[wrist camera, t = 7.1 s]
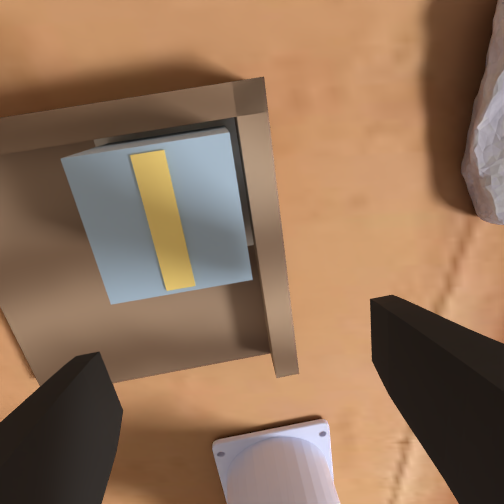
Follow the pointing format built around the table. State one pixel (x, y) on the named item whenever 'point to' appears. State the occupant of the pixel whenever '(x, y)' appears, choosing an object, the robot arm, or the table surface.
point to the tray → (83, 261)
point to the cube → (162, 213)
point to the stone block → (488, 133)
